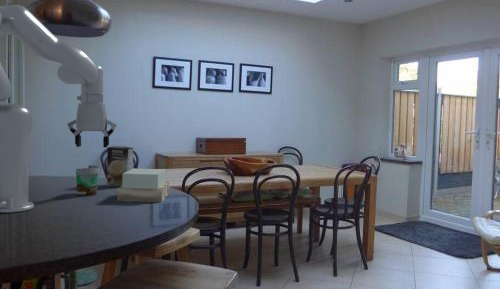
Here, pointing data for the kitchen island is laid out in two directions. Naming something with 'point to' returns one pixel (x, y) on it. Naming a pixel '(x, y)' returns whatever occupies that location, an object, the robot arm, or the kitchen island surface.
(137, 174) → the tower top slab
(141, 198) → the tower base slab
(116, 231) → the kitchen island surface
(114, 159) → the coffee box
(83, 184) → the food container
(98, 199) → the kitchen island surface
